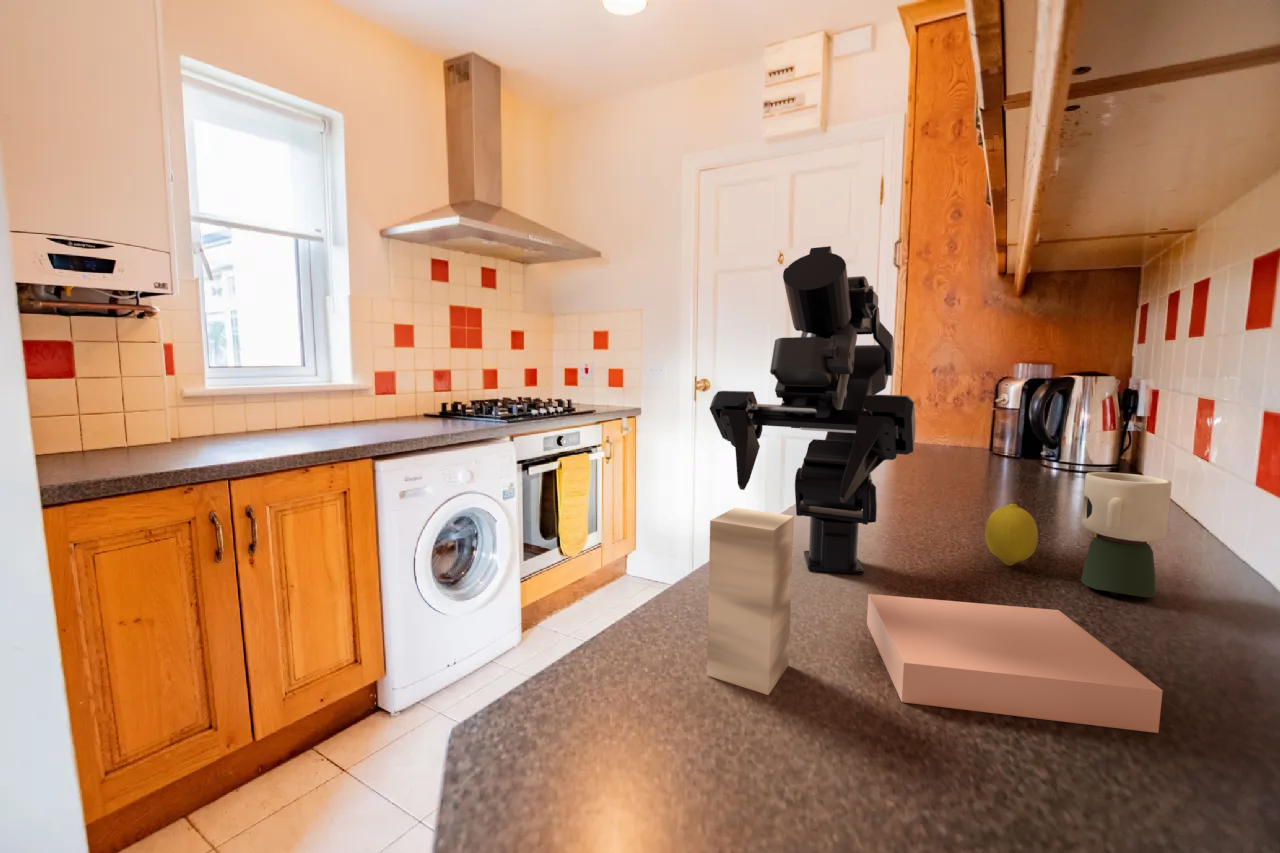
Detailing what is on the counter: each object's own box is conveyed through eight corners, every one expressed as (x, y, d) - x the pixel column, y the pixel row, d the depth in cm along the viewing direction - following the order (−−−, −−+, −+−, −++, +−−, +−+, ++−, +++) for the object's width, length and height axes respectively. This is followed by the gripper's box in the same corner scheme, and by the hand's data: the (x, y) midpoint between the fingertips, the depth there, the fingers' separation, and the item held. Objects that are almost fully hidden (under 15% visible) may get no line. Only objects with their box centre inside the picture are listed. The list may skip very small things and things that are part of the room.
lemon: (973, 561, 72) (977, 500, 71) (1003, 556, 74) (1007, 497, 73) (1014, 575, 67) (1019, 510, 66) (1046, 570, 69) (1051, 507, 68)
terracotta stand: (866, 624, 53) (868, 593, 53) (1055, 642, 50) (1058, 610, 49) (901, 702, 40) (903, 662, 40) (1158, 733, 37) (1162, 690, 37)
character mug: (1089, 572, 68) (1098, 468, 67) (1168, 590, 62) (1180, 476, 61) (1063, 594, 61) (1072, 477, 60) (1149, 616, 56) (1162, 488, 54)
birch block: (731, 649, 48) (734, 507, 47) (788, 665, 45) (793, 515, 44) (706, 675, 44) (710, 520, 43) (768, 695, 41) (773, 530, 40)
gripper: (717, 312, 57) (667, 432, 49) (919, 301, 47) (898, 449, 39) (743, 384, 65) (704, 498, 57) (921, 387, 55) (904, 525, 47)
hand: (789, 493), depth 50 cm, fingers open, 9 cm apart
